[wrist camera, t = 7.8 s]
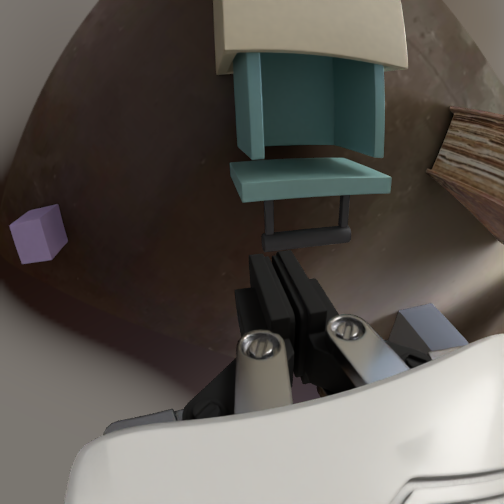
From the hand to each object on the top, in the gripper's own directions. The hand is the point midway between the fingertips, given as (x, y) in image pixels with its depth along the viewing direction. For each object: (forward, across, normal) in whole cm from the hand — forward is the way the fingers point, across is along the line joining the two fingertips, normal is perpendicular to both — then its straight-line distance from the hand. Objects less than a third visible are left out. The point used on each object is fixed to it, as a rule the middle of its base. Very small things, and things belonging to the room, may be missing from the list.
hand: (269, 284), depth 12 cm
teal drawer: (+15, -5, -5) cm, 16 cm away
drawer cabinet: (+16, -5, -17) cm, 24 cm away
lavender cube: (+16, +19, +1) cm, 25 cm away
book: (+16, -35, +1) cm, 38 cm away
